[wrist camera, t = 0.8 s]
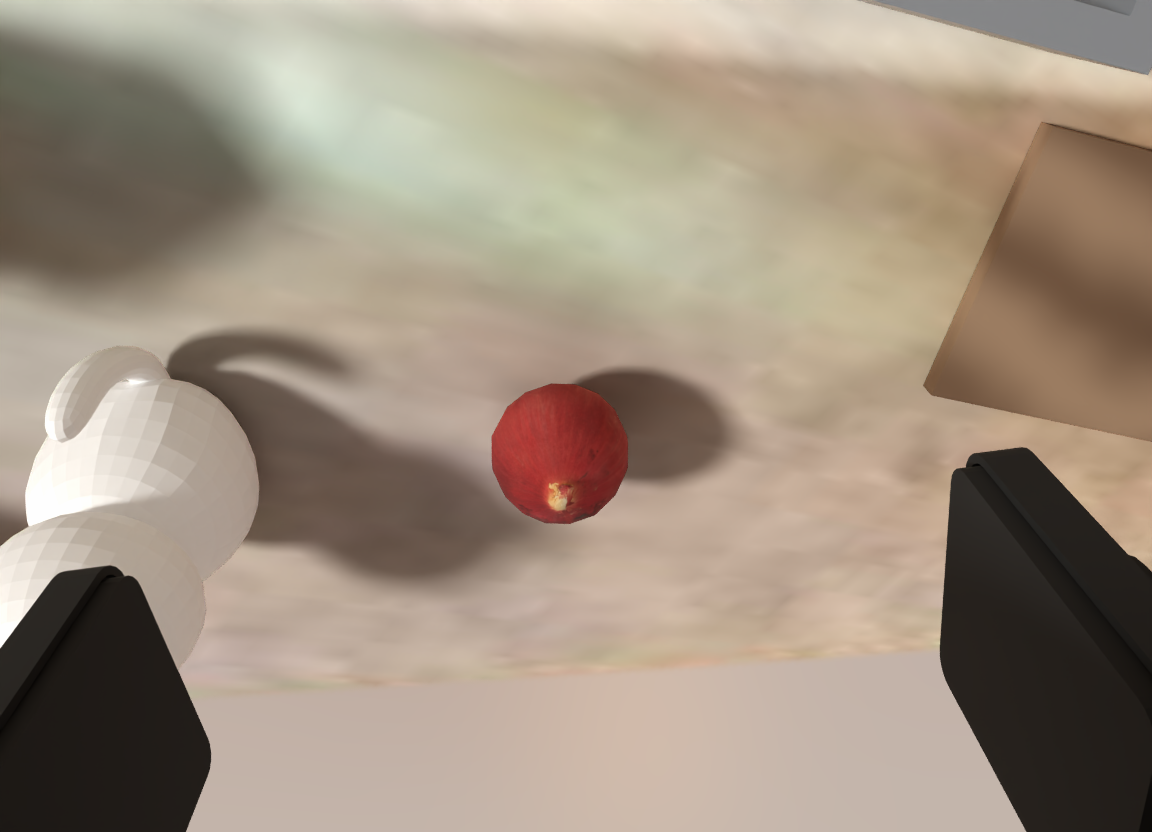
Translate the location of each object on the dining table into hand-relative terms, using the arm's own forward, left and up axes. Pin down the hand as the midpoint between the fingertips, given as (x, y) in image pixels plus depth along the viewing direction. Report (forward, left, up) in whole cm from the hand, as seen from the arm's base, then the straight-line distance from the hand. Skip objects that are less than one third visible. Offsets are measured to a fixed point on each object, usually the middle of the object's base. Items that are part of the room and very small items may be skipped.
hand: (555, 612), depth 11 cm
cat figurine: (+17, -14, -30) cm, 37 cm away
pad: (+1, +25, -30) cm, 39 cm away
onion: (+12, +3, -30) cm, 32 cm away
